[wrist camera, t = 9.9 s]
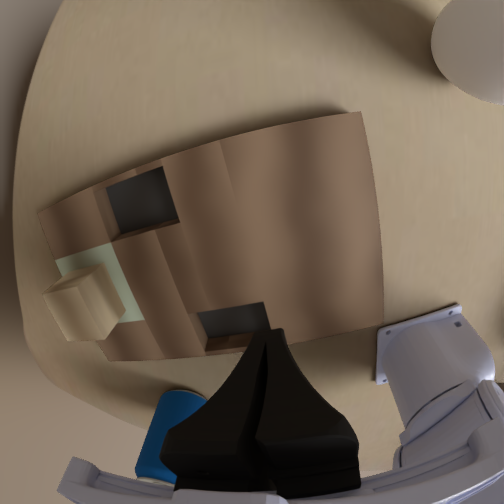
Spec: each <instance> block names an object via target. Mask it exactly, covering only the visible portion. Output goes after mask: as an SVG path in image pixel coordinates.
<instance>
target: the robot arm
mask: <svg viewBox="0 0 504 504" xmlns="http://www.w3.org/2000/svg"><path fill="white" fill-rule="evenodd" d="M461 310H462V306H461V305H460V304H456V305H453V306H451V307H448V308H445V309H442V310H439V311H436V312H433V313H430V314H427V315H424V316H421V317H418V318H414V319H411V320H408V321H404V322H401V323H398V324H394V325H390V326H387V327H383V328H381V329H379V330H378V333H377V361H376V379H375V382H376V384H377V385H381V384H384V383H387V382H388V383H389V385H390V388H391V391H392V393H393V396H394V399H395V402H396V404H397V407H398V410H399V413H400V416H401V419H402V421H403V424H404V427H405V431H404V432H402V433H401V434H400V435H399V438H400V441H401V444H402V445H401V446H399V447H398V448H397V450H396V451H395V454H394V458H393V470H390V471H387V472H384V473H380V474H376V475H373V476H369V477H365V478H360V472H359V461H358V450H359V442H358V439H357V436H356V434H355V432H354V430H353V429H352V427H351V425H350V424H349V422H348V421H347V419H346V418H345V416H343V415H342V414H341V413H340V412H338V411H337V410H336V409H335V408H333V407H332V406H331V405H330V404H329V403H328V402H327V401H326V400H325V399H324V398H323V397H322V396H321V395H320V394H319V393H318V392H317V391H316V390H315V389H314V388H313V386H312V385H311V384H310V383H309V381H308V380H307V379H306V377H305V376H304V375H303V373H302V372H301V370H300V369H299V367H298V365H297V364H296V362H295V360H294V358H293V356H292V354H291V352H290V350H289V348H288V345H287V341H286V337H285V332H284V329H282V328H277V329H271V330H265V331H259V332H255V333H254V334H253V336H252V338H251V340H250V342H249V344H248V346H247V348H246V350H245V352H244V354H243V355H242V357H241V359H240V360H239V362H238V364H237V365H236V367H235V368H234V370H233V371H232V373H231V374H230V376H229V377H228V378H227V380H226V381H225V382H224V384H223V385H222V386H221V387H220V388H219V389H218V391H217V392H216V393H215V394H214V395H213V396H212V397H211V398H210V399H209V400H208V401H207V402H206V403H205V404H204V405H203V406H201V407H200V408H199V409H198V410H197V411H195V412H194V413H193V414H192V415H190V416H189V417H187V418H186V419H185V420H183V421H182V422H180V423H178V424H177V425H175V426H174V427H172V428H170V429H168V431H167V434H166V436H165V438H164V441H163V444H162V447H161V451H160V454H159V459H160V461H161V462H162V463H163V464H164V465H165V466H166V467H167V468H168V469H169V470H170V471H171V472H173V473H174V474H175V475H176V476H177V478H176V482H175V486H174V487H173V486H167V485H161V484H155V483H150V482H145V481H140V480H135V479H131V478H127V477H123V476H118V475H115V474H111V473H107V472H104V471H101V470H99V469H98V468H97V467H96V466H95V465H93V464H92V463H90V462H88V461H86V460H82V459H79V458H77V457H72V459H71V461H70V463H69V465H68V467H67V469H66V471H65V473H64V476H63V478H62V480H61V482H60V484H59V486H58V489H57V491H58V493H60V494H62V495H63V496H65V497H66V498H68V499H69V500H71V501H73V502H74V503H76V504H504V392H503V391H502V389H501V388H500V387H499V386H498V385H497V384H496V383H495V382H494V377H495V365H494V360H493V357H492V354H491V352H490V350H489V348H488V346H487V345H486V344H485V342H484V341H483V340H482V338H481V337H480V336H479V335H478V333H477V332H476V331H475V330H474V329H473V327H472V326H471V325H470V324H469V322H468V321H467V320H466V319H465V318H464V316H463V315H462V314H461ZM387 331H389V332H387Z"/></svg>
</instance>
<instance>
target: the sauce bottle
mask: <svg viewBox="0 0 504 504" xmlns="http://www.w3.org/2000/svg"><path fill="white" fill-rule="evenodd" d="M431 51H432V55H433V58H434V61H435V63H436V65H437V67H438V68H439V70H440V71H441V72H442V74H443V75H444V76H445V77H446V78H447V79H448V80H449V81H450V82H451V83H452V84H454V85H455V86H457V87H458V88H459V89H461V90H462V91H464V92H466V93H467V94H470V95H472V96H474V97H476V98H478V99H480V100H483V101H486V102H490V103H494V104H498V105H504V0H452V1H451V2H449V3H448V4H447V5H446V6H445V7H444V8H443V10H442V11H441V13H440V14H439V16H438V17H437V19H436V21H435V24H434V27H433V31H432V37H431Z"/></svg>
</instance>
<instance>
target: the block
mask: <svg viewBox="0 0 504 504" xmlns="http://www.w3.org/2000/svg"><path fill="white" fill-rule="evenodd" d="M42 296H43V298H44V300H45V302H46V304H47V306H48V308H49V309H50V311H51V313H52V315H53V317H54V319H55V320H56V322H57V324H58V326H59V327H60V329H61V331H62V332H63V334H64V336H65V337H66V339H67V341H89V340H105V339H106V338H107V336H108V335H109V334H110V332H111V331H112V329H113V328H114V327H115V325H116V324H117V322H118V321H119V320H120V318H121V317H122V316H123V314H124V313H125V312H126V309H125V307H124V305H123V303H122V301H121V299H120V297H119V295H118V293H117V290H116V288H115V286H114V284H113V282H112V280H111V277H110V275H109V273H108V270H107V268H106V266H105V263H100V264H96V265H93V266H89V267H85V268H81V269H78V270H74V271H70V272H68V273H67V274H65V275H64V276H63V277H62V278H60V279H59V280H58V281H57V282H56V283H54V284H53V285H52V286H51V287H50V288H49V289H47V290H46V291H45V292H44V293H43V294H42Z"/></svg>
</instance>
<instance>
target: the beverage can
mask: <svg viewBox="0 0 504 504" xmlns="http://www.w3.org/2000/svg"><path fill="white" fill-rule="evenodd" d="M206 402H207V400H206V399H205V398H204V397H202V396H201V395H199V394H197V393H195V392H192V391H189V390H172V391H168V392H165V393H164V394H163V395H162V396H161V397H160V400H159V403H158V405H157V408H156V411H155V413H154V416H153V419H152V422H151V424H150V427H149V430H148V433H147V435H146V438H145V441H144V444H143V447H142V449H141V452H140V455H139V458H138V461H137V464H136V467H135V473H136V475H137V479H136V480H140V481H145V482H150V483H155V484H161V485H167V486H173V487H174V486H175V482H176V478H177V476H176V475H175V474H174V473H173V472H171V471H170V470H169V469H168V468H167V467H166V466H165V465H164V464H163V463H162V462H161V461H160V459H159V454H160V451H161V447H162V444H163V441H164V438H165V436H166V434H167V431H168V429H170V428H172V427H174V426H175V425H177V424H178V423H180V422H182V421H183V420H185V419H186V418H187V417H189V416H190V415H192V414H193V413H194V412H195V411H197V410H198V409H199V408H200V407H201V406H203V405H204V404H205V403H206Z"/></svg>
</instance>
